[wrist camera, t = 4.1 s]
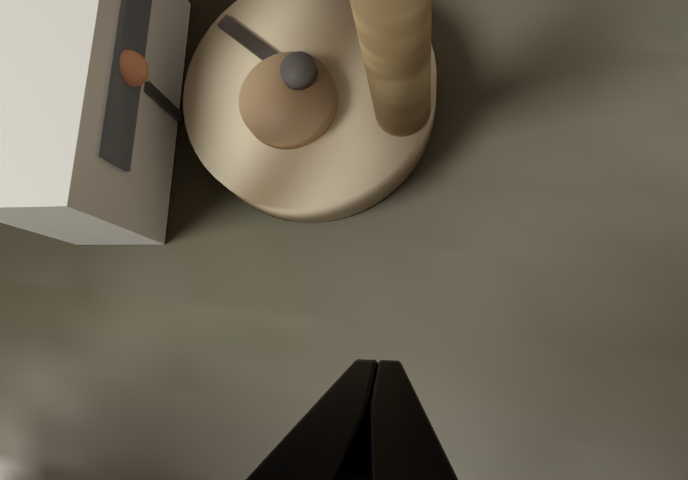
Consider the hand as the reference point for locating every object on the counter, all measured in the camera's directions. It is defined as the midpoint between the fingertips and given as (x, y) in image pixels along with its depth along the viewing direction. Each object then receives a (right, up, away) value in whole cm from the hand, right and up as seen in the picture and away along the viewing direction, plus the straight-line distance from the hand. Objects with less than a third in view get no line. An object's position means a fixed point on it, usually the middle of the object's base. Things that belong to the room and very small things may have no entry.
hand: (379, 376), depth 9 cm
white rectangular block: (-12, +9, +18) cm, 23 cm away
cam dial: (-2, +9, +16) cm, 18 cm away
